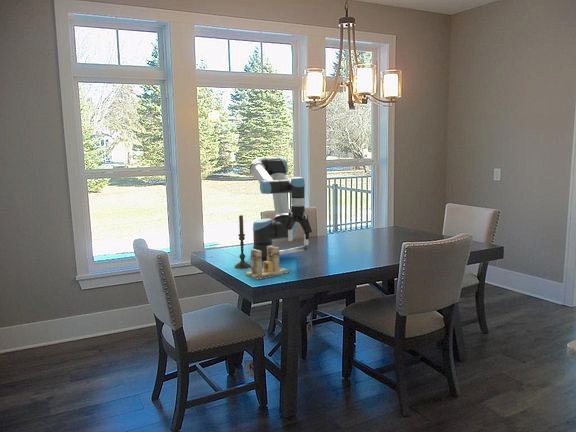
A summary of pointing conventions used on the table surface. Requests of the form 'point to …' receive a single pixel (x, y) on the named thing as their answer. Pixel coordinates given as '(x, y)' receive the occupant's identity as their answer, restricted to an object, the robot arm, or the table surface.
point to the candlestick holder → (241, 238)
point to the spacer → (268, 266)
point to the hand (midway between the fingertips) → (298, 242)
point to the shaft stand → (257, 263)
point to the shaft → (293, 250)
